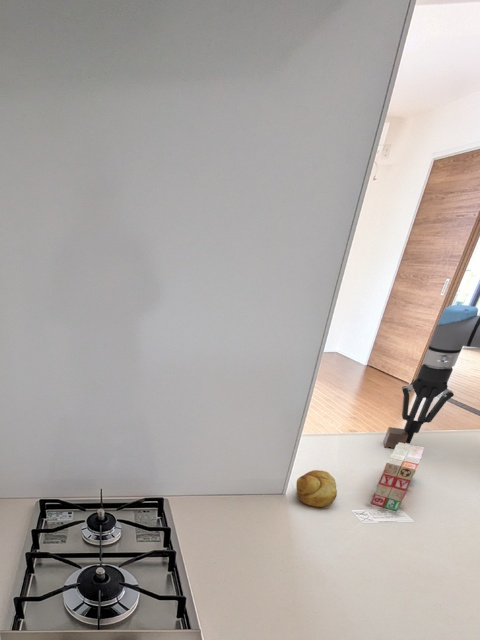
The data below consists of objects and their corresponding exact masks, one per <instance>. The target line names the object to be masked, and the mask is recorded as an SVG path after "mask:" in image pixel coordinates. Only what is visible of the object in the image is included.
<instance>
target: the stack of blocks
mask: <svg viewBox="0 0 480 640" xmlns="http://www.w3.org/2000/svg"><path fill="white" fill-rule="evenodd" d="M424 450H425V447H423V446H418V445H414V444H410V443H405V444H404V443H400V442H399V443H398V445H397V444H396V446H395V449H393V451H392V452H391V454H390V456H389V458H388V459H387V461H386V463H385V466H384V467H383V471H382V473H381V476H380V477H379V481H378V484H377V487H376V490H375V491H374V494H373V495H372V499H371V501H370V504H371V505H374V506H377V507H381V508H385V509H388V510H391V511H394V512H398V511H399V509H400V507H401V505H402V503H403V501H404V499H405V496H406V494H407V492H408V490H409V488H410V485H411V483H412V481H413V478H414V475H415V473H416V471H417V469H418V467H419V464H420V461H421V460H422V457H423V454H424Z"/></svg>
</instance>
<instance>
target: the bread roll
mask: <svg viewBox="0 0 480 640" xmlns="http://www.w3.org/2000/svg"><path fill="white" fill-rule="evenodd" d="M295 485H296V495H297V499H298V500H299V501H301V502H302V503H303V504H305V505H308V506H311V507H316V508H317V507H318V508H322V507H327V506H328V505H331V504H333V503H334V501H335V500H336V498H337V496H338V490H337V482H336V479H335V477H333V476H332V474H330V473H329V472H328V471H325V470H318V469H313V470H310V471H308V472H306V473H304V474H303V475H301V476H300V477H298V478H297V479H296V484H295Z"/></svg>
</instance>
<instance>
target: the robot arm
mask: <svg viewBox="0 0 480 640" xmlns="http://www.w3.org/2000/svg"><path fill="white" fill-rule="evenodd" d="M478 312H479V308H478V307H477V306H473V305H465V304H452V305H448V306H447V307H445V308H444V310H443V311H442V312H441V315H440V317H439V320H438V322H437V324H436V326H435V329H434V332H433V333H432V334H433V335H432V337H431V340H430V342H429V346H428V349H427V350H426V353H425V356H424V358H423V361H422V363H423V364H421V366H420V368H419V370H418V374H417V376H416V378H415V379H414V381H413V382H412V384H408V385H403V386H402V387H401V390H402V394H403V398H402V410H401V417H402V420H403V421H406V423H405V425H404V428H403V429H404V430H405V432H408V438H407V440H406V443H405V444H411V443H412V442H411V441H412V440H413V438H414V435H415V434H418V433H419V432H420V430H421V428H422V425H424V423H428V424H429V423H432V421H433V420H434V418H435V417H436V416H437V415H438V413H439V412H440V410H441V409H442V408H443V407H444V405H445V404H446V403H447V401H449V400H450V399H451V398H453V397H454V392H453V391H452V390H451V389H449V388H448V382H449V380H450V378H451V376H452V372H453V370H454V368H453V367H455V366H456V363H457V361H458V359H459V357H460V354H461V352H462V349H463V347H467V348H477V349H480V315H478V314H479V313H478ZM412 390H413V391H414V393H415V399H414V401H413V404H412V407H411V409H410V412H409V403H410V394H411V393H412V392H413V391H412ZM440 395H441V396H440ZM438 396H440V397H439V399H438V400H437V401H436V403H435V404H434V405H433V407H431V405H432V404H433V401H434V399H435V398H436V397H438ZM424 399H425V400H424ZM423 400H424V403H423V405H422V408H421V410H420V412H419V415H418V417H417V420H415V418H416V416H417V413H418V411H419V409H420V406H421V404H422V402H423ZM430 407H431V409H430ZM429 410H430V411H429Z"/></svg>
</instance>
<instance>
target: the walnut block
mask: <svg viewBox="0 0 480 640" xmlns="http://www.w3.org/2000/svg"><path fill="white" fill-rule="evenodd" d="M407 438H408V432H405V430H404V428H400V427H392V426H389V427H388V428H387V430H386V433H385V436H384V439H383V447H384V446H385V447H384V448H385V449H389V448H388V447H391V448H390V449H391V450H394V449H395V446H396V444H397V445H398V443H399V442H400V443H404V444H407V443H406V440H407Z"/></svg>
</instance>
